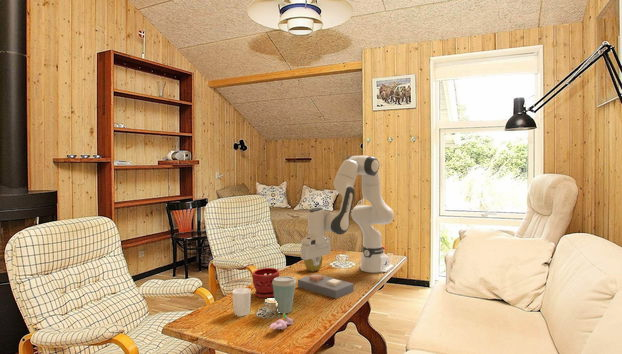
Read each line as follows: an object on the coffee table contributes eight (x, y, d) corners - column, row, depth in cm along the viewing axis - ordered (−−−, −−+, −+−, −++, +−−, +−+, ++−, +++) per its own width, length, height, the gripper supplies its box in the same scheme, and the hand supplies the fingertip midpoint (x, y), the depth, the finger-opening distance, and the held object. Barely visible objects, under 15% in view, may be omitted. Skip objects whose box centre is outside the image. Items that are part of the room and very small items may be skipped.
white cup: (235, 309, 167) (234, 287, 167) (252, 309, 167) (252, 287, 167) (230, 317, 159) (230, 293, 159) (249, 317, 159) (248, 293, 159)
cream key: (333, 284, 193) (333, 278, 193) (341, 286, 190) (341, 280, 190) (327, 286, 190) (327, 281, 190) (334, 289, 186) (334, 283, 186)
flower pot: (323, 270, 227) (323, 256, 227) (311, 273, 222) (311, 258, 222) (315, 267, 234) (314, 253, 234) (303, 269, 230) (303, 255, 229)
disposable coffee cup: (267, 310, 166) (267, 277, 166) (287, 304, 173) (287, 272, 172) (280, 318, 158) (280, 282, 157) (301, 312, 164) (301, 278, 164)
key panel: (315, 280, 208) (315, 273, 208) (353, 291, 190) (353, 283, 190) (297, 286, 198) (297, 279, 198) (335, 298, 180) (335, 290, 180)
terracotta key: (316, 279, 201) (316, 274, 201) (323, 281, 198) (323, 276, 198) (309, 282, 198) (309, 276, 198) (316, 284, 194) (316, 278, 194)
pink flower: (284, 323, 156) (264, 332, 142) (285, 308, 156) (265, 316, 143) (297, 326, 153) (278, 335, 140) (298, 311, 153) (279, 319, 140)
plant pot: (265, 288, 195) (265, 266, 195) (284, 293, 188) (284, 270, 187) (247, 296, 184) (246, 272, 184) (267, 301, 177) (266, 276, 176)
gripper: (324, 235, 207) (324, 260, 207) (298, 241, 192) (298, 267, 192) (333, 236, 203) (333, 262, 203) (307, 242, 188) (307, 270, 188)
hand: (316, 265), depth 198 cm, fingers closed
